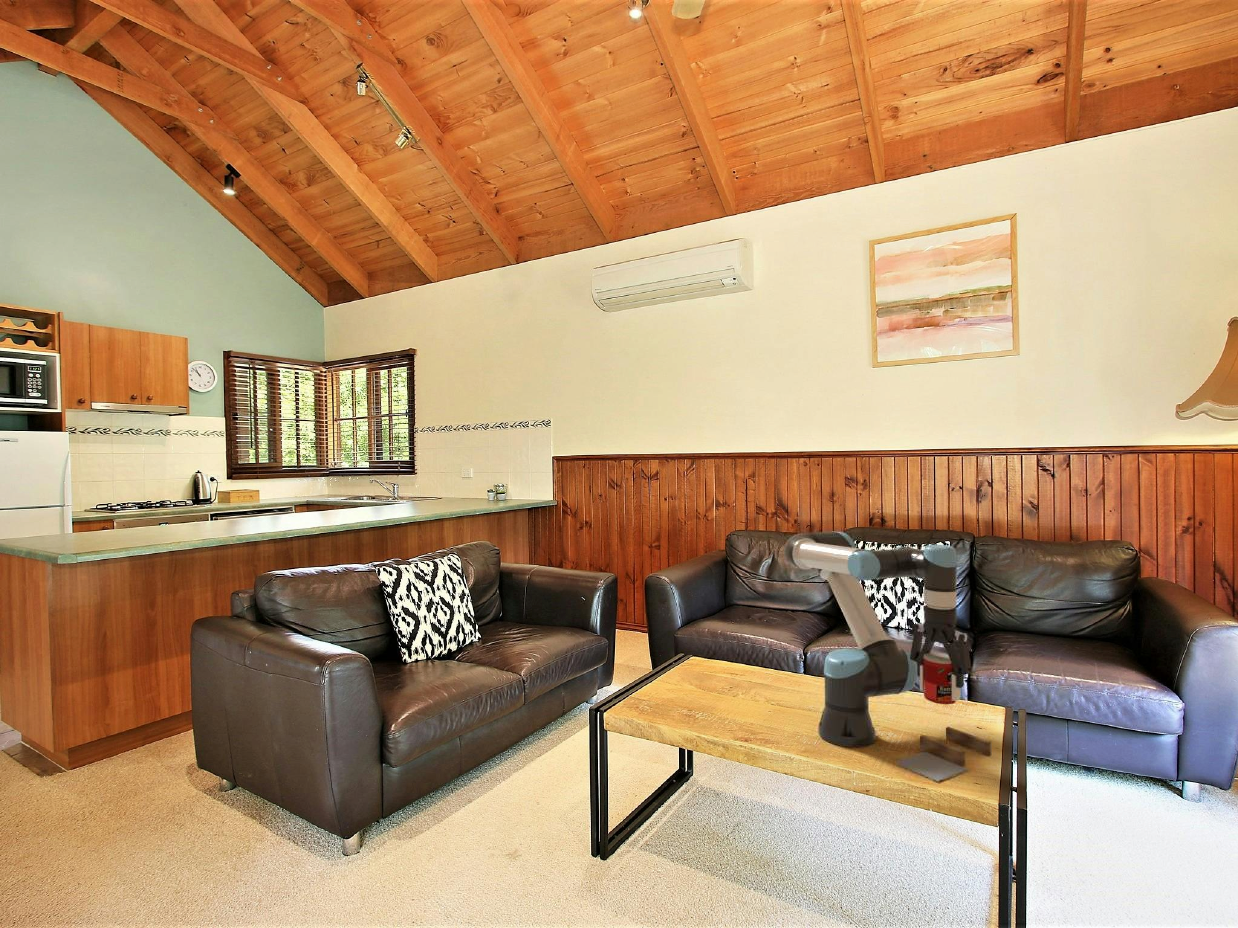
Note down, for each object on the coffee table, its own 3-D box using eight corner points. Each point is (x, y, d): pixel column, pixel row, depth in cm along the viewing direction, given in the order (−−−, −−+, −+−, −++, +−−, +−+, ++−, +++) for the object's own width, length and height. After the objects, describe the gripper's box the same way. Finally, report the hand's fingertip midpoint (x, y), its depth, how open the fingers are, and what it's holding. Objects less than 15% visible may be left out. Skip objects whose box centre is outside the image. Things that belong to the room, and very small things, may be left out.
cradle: (919, 749, 180) (919, 736, 180) (948, 739, 186) (948, 726, 186) (962, 766, 170) (962, 752, 170) (991, 755, 176) (991, 741, 176)
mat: (894, 763, 172) (894, 761, 172) (924, 752, 178) (924, 751, 178) (937, 782, 162) (937, 780, 162) (967, 770, 168) (967, 768, 168)
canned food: (940, 706, 168) (940, 662, 168) (916, 695, 176) (916, 653, 176) (964, 702, 171) (964, 659, 171) (939, 692, 178) (939, 650, 178)
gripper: (988, 611, 167) (988, 703, 167) (911, 597, 184) (911, 680, 184) (972, 616, 162) (972, 710, 163) (894, 600, 180) (894, 685, 180)
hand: (939, 694), depth 173 cm, fingers closed on canned food, 8 cm apart
